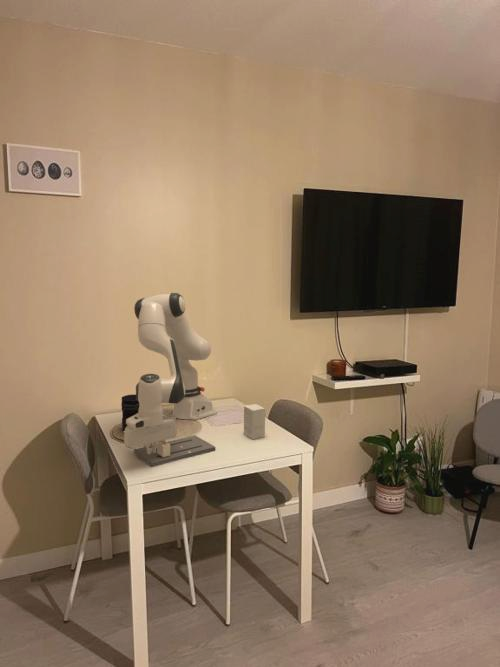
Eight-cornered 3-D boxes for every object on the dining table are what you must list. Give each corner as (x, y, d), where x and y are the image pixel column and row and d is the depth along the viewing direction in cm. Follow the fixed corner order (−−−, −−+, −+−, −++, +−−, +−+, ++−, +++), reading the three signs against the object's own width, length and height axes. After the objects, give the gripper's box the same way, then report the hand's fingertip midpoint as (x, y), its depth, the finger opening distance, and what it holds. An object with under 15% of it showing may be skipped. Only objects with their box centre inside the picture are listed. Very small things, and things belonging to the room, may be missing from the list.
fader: (164, 451, 194) (164, 439, 194) (170, 455, 190) (170, 443, 190) (157, 453, 193) (157, 441, 192) (163, 457, 189) (163, 445, 188)
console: (195, 438, 214) (195, 434, 213) (215, 450, 201) (215, 446, 201) (133, 453, 197) (133, 449, 197) (151, 466, 184) (151, 462, 184)
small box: (265, 437, 216) (265, 408, 214) (252, 439, 213) (252, 410, 211) (255, 431, 223) (256, 403, 221) (243, 434, 220) (243, 405, 218)
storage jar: (149, 429, 224) (148, 397, 222) (130, 435, 217) (129, 401, 215) (135, 424, 231) (135, 393, 228) (117, 429, 223) (116, 397, 221)
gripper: (171, 411, 195) (172, 444, 197) (121, 420, 183) (122, 456, 185) (179, 415, 190) (179, 449, 192) (128, 425, 178) (129, 462, 180)
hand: (151, 453), depth 188 cm, fingers closed
